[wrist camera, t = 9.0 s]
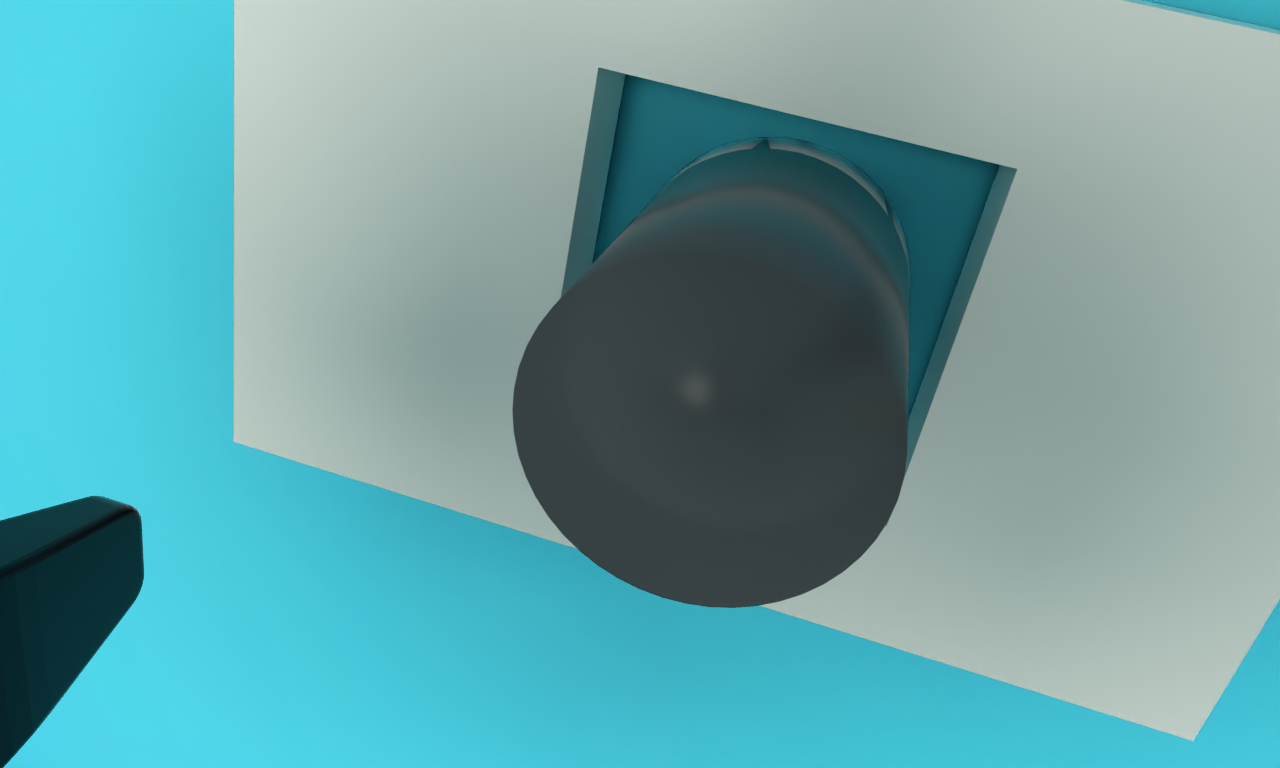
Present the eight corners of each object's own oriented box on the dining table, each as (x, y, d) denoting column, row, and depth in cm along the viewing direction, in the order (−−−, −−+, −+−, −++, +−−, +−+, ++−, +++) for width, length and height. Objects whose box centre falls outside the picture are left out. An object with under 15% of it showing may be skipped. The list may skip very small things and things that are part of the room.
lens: (948, 176, 18) (965, 314, 12) (864, 428, 20) (842, 654, 14) (666, 106, 18) (540, 202, 12) (616, 358, 21) (491, 543, 15)
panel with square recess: (1507, 79, 15) (1584, 100, 13) (1169, 670, 21) (1192, 740, 19) (301, -182, 18) (235, -193, 16) (285, 402, 23) (233, 441, 22)
